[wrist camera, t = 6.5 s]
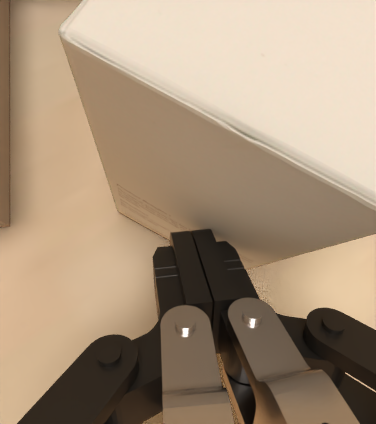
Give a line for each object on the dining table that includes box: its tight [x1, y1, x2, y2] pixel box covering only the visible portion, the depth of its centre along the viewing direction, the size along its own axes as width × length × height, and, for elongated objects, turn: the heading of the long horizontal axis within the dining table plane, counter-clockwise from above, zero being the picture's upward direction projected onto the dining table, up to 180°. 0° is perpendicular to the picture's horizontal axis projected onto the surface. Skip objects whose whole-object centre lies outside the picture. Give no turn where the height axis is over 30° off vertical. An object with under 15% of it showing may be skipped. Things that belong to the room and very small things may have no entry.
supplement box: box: [59, 0, 376, 270], centre depth 13 cm, size 7×7×13 cm
